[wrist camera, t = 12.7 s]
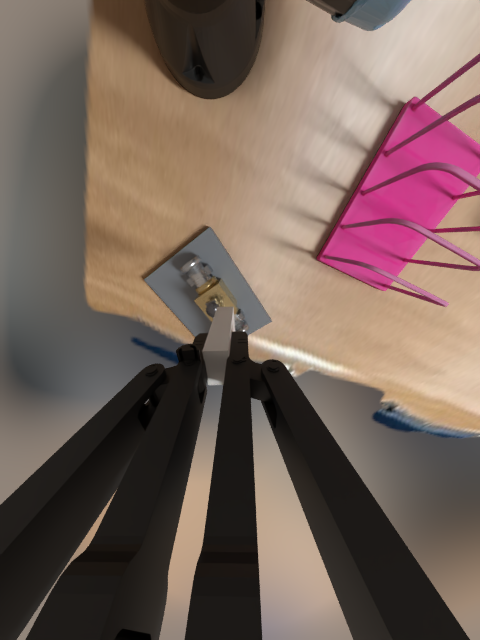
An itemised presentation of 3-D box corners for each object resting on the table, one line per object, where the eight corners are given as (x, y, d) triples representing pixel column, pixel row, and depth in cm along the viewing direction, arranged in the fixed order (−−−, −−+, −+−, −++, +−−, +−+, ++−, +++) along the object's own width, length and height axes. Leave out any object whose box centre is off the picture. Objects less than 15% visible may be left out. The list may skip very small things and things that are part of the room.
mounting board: (147, 278, 38) (143, 279, 37) (211, 227, 34) (209, 226, 33) (213, 352, 47) (212, 355, 45) (270, 318, 42) (271, 321, 41)
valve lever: (204, 301, 33) (201, 306, 31) (218, 295, 33) (217, 300, 30) (234, 357, 39) (234, 366, 36) (246, 353, 38) (247, 362, 36)
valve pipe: (181, 269, 36) (171, 273, 31) (203, 252, 35) (197, 254, 30) (231, 331, 43) (229, 344, 38) (251, 319, 42) (252, 331, 36)
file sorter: (315, 259, 37) (362, 271, 22) (404, 103, 27) (589, -52, 13) (379, 289, 39) (458, 317, 25) (481, 159, 30) (704, 83, 15)
